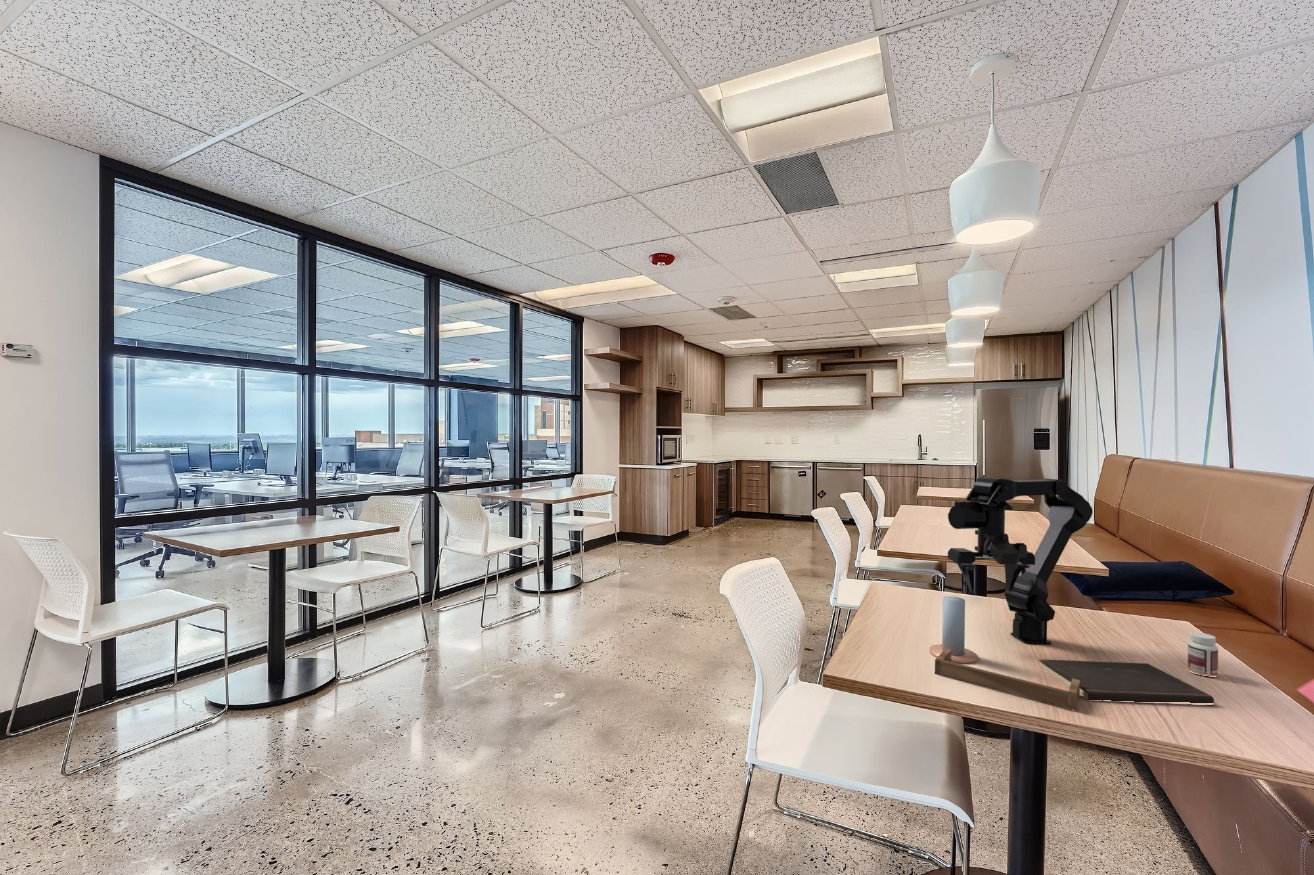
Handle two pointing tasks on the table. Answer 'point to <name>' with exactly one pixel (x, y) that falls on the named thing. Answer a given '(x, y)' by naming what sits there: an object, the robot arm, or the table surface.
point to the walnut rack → (1008, 683)
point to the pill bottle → (1203, 654)
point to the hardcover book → (1124, 681)
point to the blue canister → (953, 625)
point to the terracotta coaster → (965, 659)
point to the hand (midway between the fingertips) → (990, 590)
